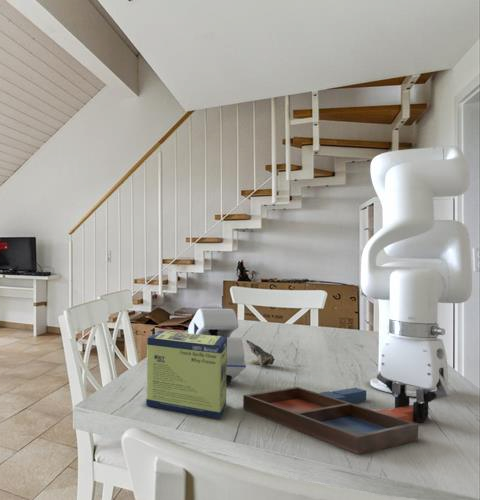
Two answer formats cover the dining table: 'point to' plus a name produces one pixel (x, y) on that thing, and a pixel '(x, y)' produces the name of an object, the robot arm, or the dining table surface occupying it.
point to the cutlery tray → (332, 419)
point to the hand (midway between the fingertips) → (410, 417)
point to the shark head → (260, 355)
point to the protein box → (187, 373)
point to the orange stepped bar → (400, 412)
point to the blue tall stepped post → (348, 395)
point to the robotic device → (221, 325)
